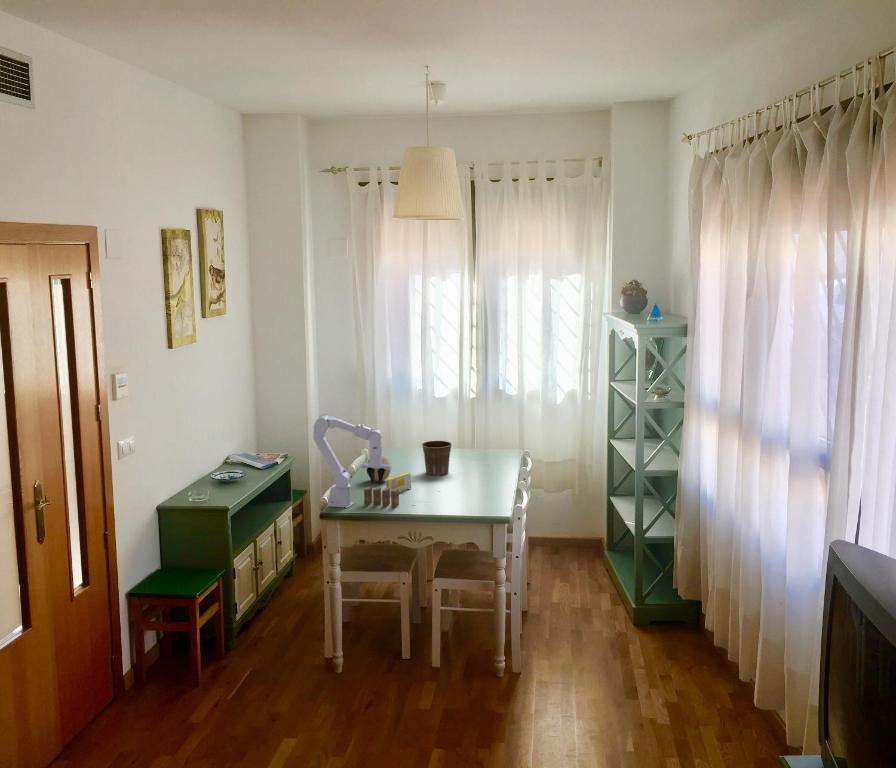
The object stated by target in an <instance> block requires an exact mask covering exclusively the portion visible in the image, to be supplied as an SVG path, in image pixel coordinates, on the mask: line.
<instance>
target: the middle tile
mask: <svg viewBox="0 0 896 768" xmlns="http://www.w3.org/2000/svg"><path fill="white" fill-rule="evenodd" d="M389 504H390V505H391V495H390V488H387V487H384V489H381V505H382V508H388V507H389V506H390V505H389ZM388 505H389V506H388ZM387 506H388V507H387Z"/></svg>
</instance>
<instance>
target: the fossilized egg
mask: <svg viewBox="0 0 896 768" xmlns="http://www.w3.org/2000/svg"><path fill="white" fill-rule="evenodd" d="M367 463H370V458H369V459H368V460H367ZM382 464H387V465H391V463H390V461H389V459H388V458H387V456H386V455H385V454H384V453H382ZM365 469H366V474H367V476H368V477H369V478H370V476H369V474H368V473H367V469H368V468H365ZM378 470H379V469H375V482H378V483H379V478H378V472H377V471H378ZM391 471H392V469H391V470H388V469H386V471H385V473H384V475H383V478H382V482H383V481H386V479H388V477H389V476H390V474H391Z"/></svg>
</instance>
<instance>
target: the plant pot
mask: <svg viewBox="0 0 896 768" xmlns="http://www.w3.org/2000/svg"><path fill="white" fill-rule="evenodd" d="M452 446H453V444H452V442H450V441H445V440H430V441H425V442H423V443H421V447H422V451H423V454H424V455H423V456H424V467H425V474H427V475H429V476H433V475H435V477H436V476H438V477H439V476H443V475H448V474H449V471H450V469H449V468H450V458H451V457H450V455H451V451H452Z"/></svg>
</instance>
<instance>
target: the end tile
mask: <svg viewBox="0 0 896 768" xmlns="http://www.w3.org/2000/svg"><path fill="white" fill-rule="evenodd" d="M363 499H364V501H363V503H364V505H366V506H365V507H369V506H371V505H372V504H373V487H372V486H367V487H365V488H364V489H363ZM371 503H372V504H371ZM370 504H371V505H370ZM368 505H369V506H368Z"/></svg>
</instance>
